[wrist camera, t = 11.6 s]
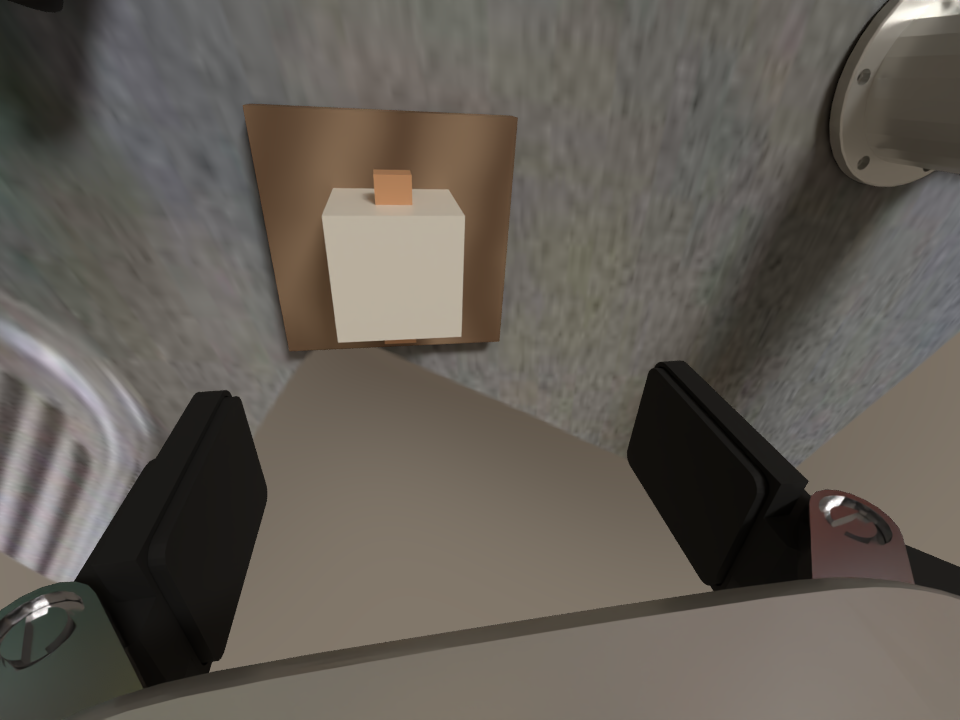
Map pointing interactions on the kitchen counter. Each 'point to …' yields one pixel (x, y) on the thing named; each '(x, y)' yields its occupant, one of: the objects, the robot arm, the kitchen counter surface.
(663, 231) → the kitchen counter surface
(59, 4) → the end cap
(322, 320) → the post block
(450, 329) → the cap
